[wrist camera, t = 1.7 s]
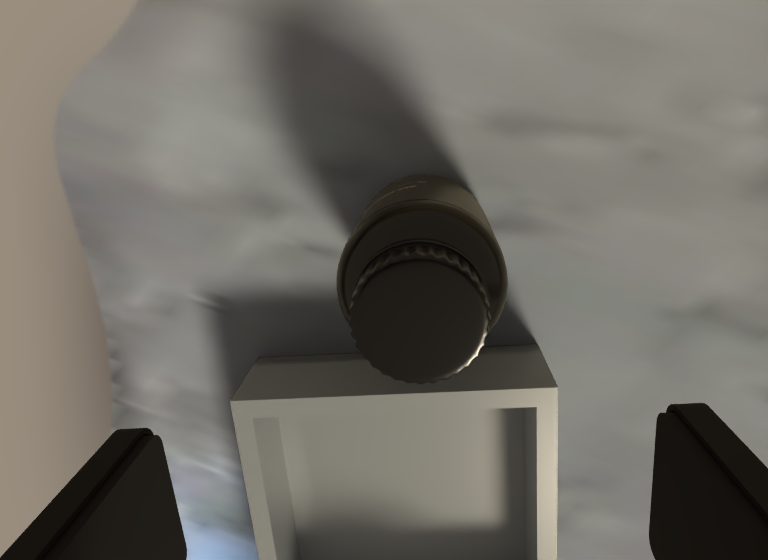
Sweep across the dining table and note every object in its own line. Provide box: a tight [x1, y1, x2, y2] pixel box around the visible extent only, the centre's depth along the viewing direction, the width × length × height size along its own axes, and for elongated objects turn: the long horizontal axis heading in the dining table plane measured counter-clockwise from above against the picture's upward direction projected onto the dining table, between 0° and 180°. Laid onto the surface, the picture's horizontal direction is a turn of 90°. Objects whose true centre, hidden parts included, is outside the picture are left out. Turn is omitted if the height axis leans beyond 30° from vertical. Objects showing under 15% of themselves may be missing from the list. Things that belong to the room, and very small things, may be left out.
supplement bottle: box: [337, 175, 508, 384], centre depth 24 cm, size 7×7×12 cm
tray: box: [230, 344, 558, 560], centre depth 32 cm, size 16×15×5 cm
